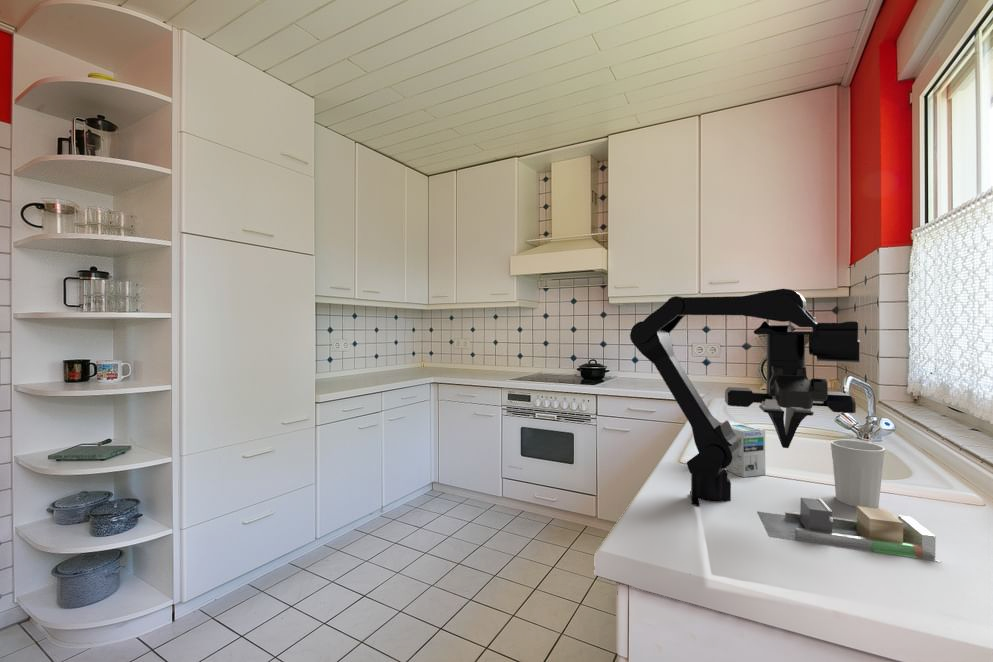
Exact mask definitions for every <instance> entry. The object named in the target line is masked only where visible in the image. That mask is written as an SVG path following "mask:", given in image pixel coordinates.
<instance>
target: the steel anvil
mask: <svg viewBox="0 0 993 662" xmlns="http://www.w3.org/2000/svg"><path fill="white" fill-rule="evenodd" d="M897 518H898V519H899V520H900V521H902V522H903V538H904V539H905V540H906V541H907V542H908V543H909V544H915V545H921V546H922V547H923V555H925V556H932V557H936V538H937V537H936V536H935V534H934V533H932V532H930V531H929V530H928V529H927V528H926V527H924V526H923V525H922V524H920V523H919V522H918V521H916V520H915V519H914V518H913V517H912V516H909V515H908V516H907V515H901V514H898V516H897Z"/></svg>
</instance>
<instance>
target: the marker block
mask: <svg viewBox="0 0 993 662" xmlns="http://www.w3.org/2000/svg"><path fill="white" fill-rule="evenodd" d="M856 520H857V528H856V530H857V531H858V533H859V534H860V535H861V536H862V537H866V538H873V539H880V540H887V541H894V542H901V543H903V522H902V521H900V520H899V519H898V516H896V515H894V514H893V513H892V512H891V511H890V510H888V509H884V508H869V507H860V506H857V507H856Z"/></svg>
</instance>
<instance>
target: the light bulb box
mask: <svg viewBox="0 0 993 662" xmlns="http://www.w3.org/2000/svg"><path fill="white" fill-rule="evenodd" d="M725 421H726V420H723V421H722V420H721V421H719V422H720V423H721V424H722V423H723V422H725ZM727 421H728V422H729V423H730V425H731V428H732V430H733V432H734V433H735V434H736V435H737V436H738V437H739V438H740V439H739V440H738V443H739V445H740V452H739V455H738V457H737V458H736V459H735V460H734V461H733V462H732V463H731V464H730V465H729V466H727V467H726V468H725V469H726V471H727V470H728V471H727V472H730V473H731V474H735V475H736V476H740V477H742V478H748V477H749V478H750V477H756V476H765V475H766V472H767V471H766V469H767V468H766V429H765V428H764V429H763V428H760V427H755V426H751V425H748V424H743V423H739V422H736V421H732V420H727Z"/></svg>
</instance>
